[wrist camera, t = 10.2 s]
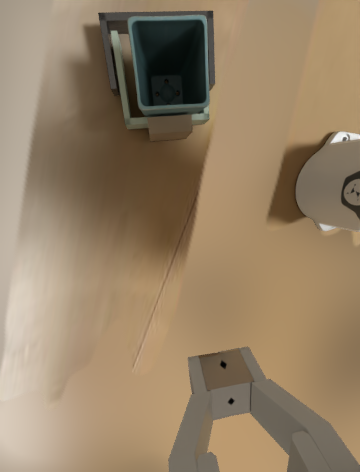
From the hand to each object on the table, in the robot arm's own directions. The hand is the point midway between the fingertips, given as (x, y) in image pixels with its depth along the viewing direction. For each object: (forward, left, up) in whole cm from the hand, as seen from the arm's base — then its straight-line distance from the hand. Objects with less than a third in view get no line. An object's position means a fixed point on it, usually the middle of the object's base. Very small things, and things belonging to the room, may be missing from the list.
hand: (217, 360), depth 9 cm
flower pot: (-2, -21, -29) cm, 36 cm away
